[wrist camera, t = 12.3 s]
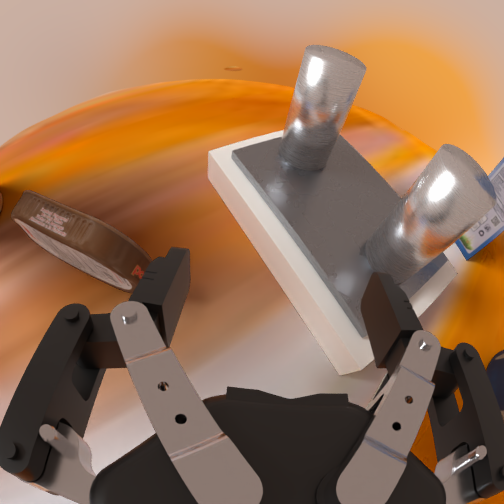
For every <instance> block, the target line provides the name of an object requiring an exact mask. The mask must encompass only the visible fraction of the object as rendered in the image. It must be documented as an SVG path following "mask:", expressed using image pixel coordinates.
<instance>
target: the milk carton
mask: <svg viewBox="0 0 504 504" xmlns="http://www.w3.org/2000/svg"><path fill="white" fill-rule="evenodd" d="M488 178H489V179H490V181H491V183H492V185H493V187H494V190H495V193H496V205H495V206H494V207H493V208H492V209H491V210H490V211H489V212H488V213H487V214H486V215H485V216H484V217H482V218H481V219H480V220H479V221H478V222H477V223H476V224H475V225H474V226H473V227H471V228H470V229H469V230H468V231H467V232H466V233H465V234H463V235H462V236H461V237H460V238H459V239H458V240H456V241H455V243H456V244H457V246H458V247H459V249H460V250H461V252H462V254H463V255H464V257H465V258H466V260H468V259H469V258H471V257H472V256H473V255H475V254H476V253H477V252H479V251H480V250H481V249H482V248H484V247H485V246H486V245H487V244H489V243H490V242H491V241H492V240H493V239H495V238H496V237H497V236H498V235H499V234H501V233H502V232H503V231H504V158H503V159H502V160H501V161H500V163H499V164H498V165H497V166H496V167H495V168H494V170H493V171H492V172H491V173H490V174H489V176H488Z"/></svg>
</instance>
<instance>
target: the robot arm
mask: <svg viewBox="0 0 504 504" xmlns="http://www.w3.org/2000/svg"><path fill="white" fill-rule="evenodd" d="M2 204H3V198H2V194H1V193H0V212H1V208H2ZM189 287H190V251H189V249H186V248H178V247H171V248H170V250H169V252H168V254H167V256H166V257H165V258H164V257H158V258H156V259H155V260H153V261H152V262H151V263H150V264H149V266H148V267H147V269H146V271H145V272H144V274H143V276H142V279H140V281H139V283H138V284H137V286H136V288H135V290H134V291H133V293H132V295H131V297H130V299H129V300H128V301H127V302H123V303H121V304H119V305H117V306H116V307H115V308H114V309H113V310H112V312H111V313H108V314H90V312H89V310H88V308H87V307H86V306H84V305H82V304H70V305H67V306H65V307H63V308H62V309H61V310H60V311H59V312H58V313H57V315H56V317H55V318H54V320H53V322H52V323H51V325H50V327H49V328H48V330H47V332H46V334H45V335H44V337H43V339H42V341H41V342H40V344H39V346H38V348H37V350H36V351H35V353H34V355H33V357H32V359H31V361H30V363H29V365H28V367H27V368H26V370H25V372H24V374H23V376H22V379H21V381H20V383H19V385H18V387H17V389H16V391H15V393H14V396H13V398H12V400H11V402H10V405H9V407H8V409H7V412H6V414H5V416H4V419H3V421H2V424H1V427H0V466H1V467H2V468H3V469H4V470H5V471H7V472H9V473H11V474H12V475H14V476H16V477H17V478H18V479H20V480H21V481H23V482H25V483H27V484H29V485H31V486H33V487H35V488H37V489H39V490H42V491H46V492H48V493H50V494H53V495H60V496H63V497H65V498H67V499H70V500H72V501H74V502H77V503H79V504H476V503H478V502H481V501H483V500H485V499H487V498H489V497H491V496H494V495H496V494H498V493H500V492H502V491H503V490H504V421H503V418H502V414H501V411H500V408H499V405H498V402H497V399H496V396H495V394H494V391H493V388H492V385H491V383H490V380H489V378H488V375H487V373H486V370H485V368H484V365H483V363H482V360H481V358H480V356H479V354H478V352H477V350H476V349H475V348H474V347H473V346H471V345H470V344H468V343H459V344H458V345H457V346H456V348H455V349H454V350H450V349H447V348H443V347H441V346H440V343H439V341H438V339H437V338H436V337H435V336H434V335H433V334H431V333H430V332H427V331H424V330H423V329H422V326H421V324H420V322H419V320H418V318H417V315H416V313H415V311H414V309H413V307H412V305H411V303H409V302H410V301H409V299H408V297H407V295H406V293H405V292H404V291H403V290H402V289H401V288H400V287H399V286H398V285H396V284H395V282H394V280H393V278H392V276H391V274H389V273H381V272H373V273H372V275H371V277H370V280H369V282H368V285H367V287H366V290H365V292H364V294H363V297H362V300H361V307H360V308H361V314H362V317H363V320H364V324H365V327H366V330H367V334H368V337H369V341H370V344H371V348H372V352H373V356H374V359H375V363H376V367H377V368H387V371H388V372H387V373H386V374H385V376H384V378H383V379H382V381H381V383H380V385H379V387H378V388H377V390H376V392H375V394H374V395H373V397H372V399H371V401H370V402H369V404H368V406H367V407H366V408H363V407H361V406H359V405H356V404H353V403H350V402H348V395H347V394H315V395H310V396H305V397H300V398H295V399H287V398H283V397H280V396H276V395H273V394H270V393H266V392H263V391H260V390H254V389H244V388H235V387H228V386H227V393H226V395H219V396H214V397H210V398H207V399H204V400H201V399H200V397H199V395H198V394H197V392H196V391H195V389H194V387H193V386H192V384H191V382H190V381H189V379H188V377H187V375H186V374H185V372H184V370H183V369H182V367H181V365H180V363H179V361H178V360H177V358H176V356H175V354H174V353H173V351H172V349H171V348H170V347H169V346H170V343H171V340H172V337H173V335H174V332H175V329H176V326H177V323H178V320H179V317H180V314H181V311H182V309H183V306H184V303H185V300H186V297H187V295H188V292H189ZM106 368H128V371H129V374H130V376H131V379H132V381H133V383H134V386H135V388H136V391H137V393H138V395H139V397H140V400H141V402H142V404H143V406H144V409H145V411H146V413H147V415H148V417H149V419H150V421H151V423H152V425H153V428H154V430H155V431H156V433H155V434H154V435H152V436H151V437H150V438H148V439H147V440H145V441H144V442H143V443H141V444H140V445H138V446H137V447H135V448H134V449H132V450H131V451H130V452H128V453H127V454H125V455H124V456H122V457H121V458H119V459H118V460H116V461H115V462H113V463H112V464H110V465H108V466H107V467H105V468H104V469H103V470H101V471H100V472H99V473H98V475H97V476H96V475H95V473H94V471H93V469H92V464H91V461H92V453H91V449H90V447H89V445H88V444H87V443H86V442H85V441H84V440H83V437H84V433H85V430H86V427H87V424H88V420H89V417H90V414H91V411H92V408H93V405H94V402H95V399H96V396H97V393H98V390H99V387H100V385H101V382H102V379H103V376H104V374H105V371H106ZM458 388H459V390H460V393H461V396H462V399H463V408H462V410H461V412H460V413H459V409H458V405H457V402H456V398H455V395H454V392H455V391H456V390H457V389H458ZM427 408H428V413H429V417H430V422H431V427H432V432H433V437H434V443H435V448H436V454H437V461H438V464H437V466H436V468H435V473H433V472H432V471H431V470H430V469H428V468H427V467H426V466H425V465H424V464H423V463H422V462H421V461H420V460H419V459H418V458H417V457H416V456H415V455H414V454H413V453H412V452H411V451H410V449H411V447H412V444H413V442H414V440H415V438H416V435H417V433H418V431H419V428H420V426H421V423H422V421H423V418H424V416H425V413H426V411H427Z"/></svg>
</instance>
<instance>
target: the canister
mask: <svg viewBox="0 0 504 504" xmlns="http://www.w3.org/2000/svg"><path fill="white" fill-rule="evenodd" d="M486 373H487V375H488V378H489V380H490V383H491V385H492V388H493V391H494V394H495V396H496V399H497V402H498V405H499V408H500V411H501V414H502V418H503V421H504V350H502V351H500V352H499V353H497V354H496V355H495V356H494V357H493V358H492V360H491V361H490V363H489V365H488V367H487V370H486Z"/></svg>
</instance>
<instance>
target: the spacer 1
mask: <svg viewBox="0 0 504 504" xmlns="http://www.w3.org/2000/svg"><path fill="white" fill-rule="evenodd" d="M365 71H366V67H365V65H364V64H363V63H362V62H361V61H360V60H358V59H357V58H355V57H353V56H352V55H349V54H348V53H345V52H343V51H340V50H338V49H334V48H331V47H327V46H321V45H311V46H307V47H306V49H305V53H304V57H303V60H302V64H301V68H300V72H299V75H298V79H297V83H296V87H295V90H294V94H293V98H292V102H291V106H290V109H289V113H288V117H287V121H286V124H285V128H284V132H283V136H282V139H281V143H280V147H279V150H280V154H281V156H282V157H283V158H284V159H285V160H286V161H287V162H288V163H289V164H291V165H292V166H294V167H297V168H299V169H303V170H308V171H314V170H319V169H322V168H323V167H324V166H325V165H326V164H327V161H328V159H329V157H330V155H331V152H332V150H333V148H334V145H335V143H336V141H337V139H338V136H339V134H340V132H341V129H342V127H343V125H344V122H345V120H346V118H347V115H348V113H349V110H350V108H351V106H352V103H353V101H354V98H355V96H356V93H357V91H358V89H359V86H360V84H361V81H362V79H363V77H364V74H365Z"/></svg>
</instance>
